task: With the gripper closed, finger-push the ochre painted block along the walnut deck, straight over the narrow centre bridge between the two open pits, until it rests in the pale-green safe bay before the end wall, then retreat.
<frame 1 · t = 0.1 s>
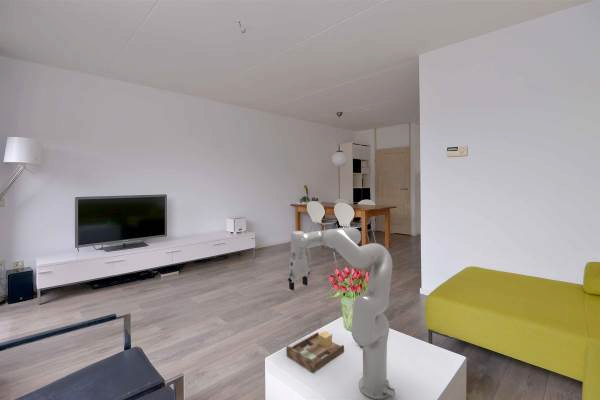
hand: (298, 287, 146), 31 cm above the table, fingers open, 9 cm apart
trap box: (315, 353, 140), on the table
block: (325, 343, 145), point 2 cm above the table, touching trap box
character mug: (364, 345, 147), on the table
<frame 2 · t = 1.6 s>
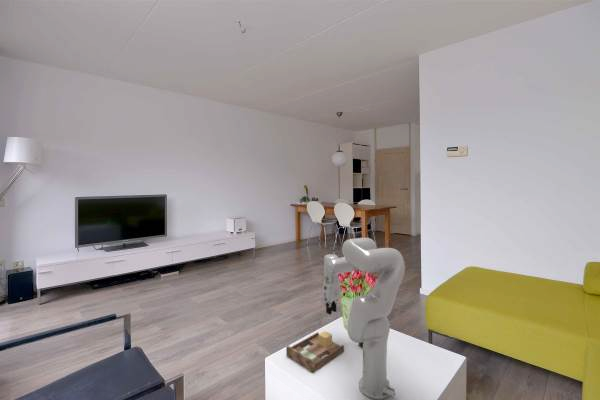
hand: (331, 312, 148), 17 cm above the table, fingers open, 3 cm apart
nothing on the table moved.
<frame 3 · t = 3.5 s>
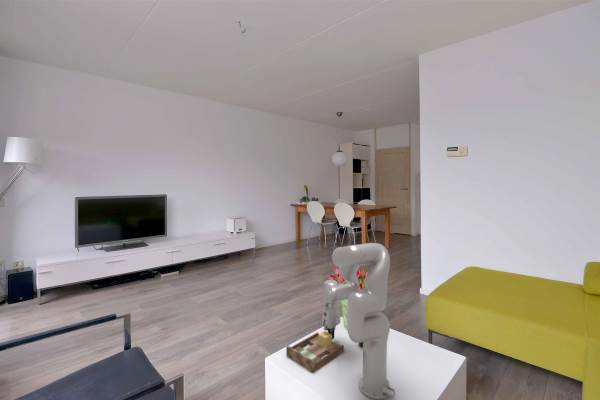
hand: (331, 337, 149), 3 cm above the table, fingers closed
block: (325, 343, 145), point 2 cm above the table, touching gripper, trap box
everything else where it was.
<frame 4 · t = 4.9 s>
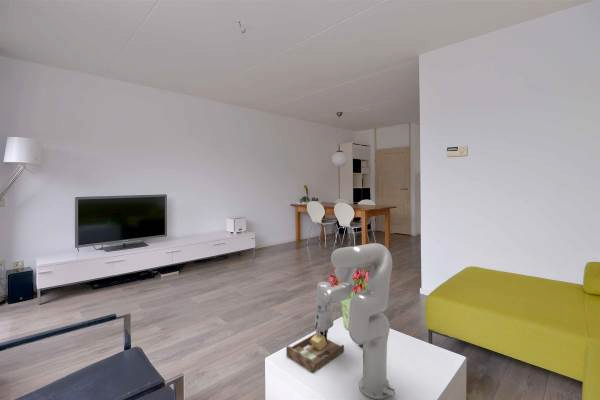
hand: (323, 340, 145), 4 cm above the table, fingers closed
block: (319, 345, 142), point 3 cm above the table, tilted 19°, touching gripper
everything else where it was.
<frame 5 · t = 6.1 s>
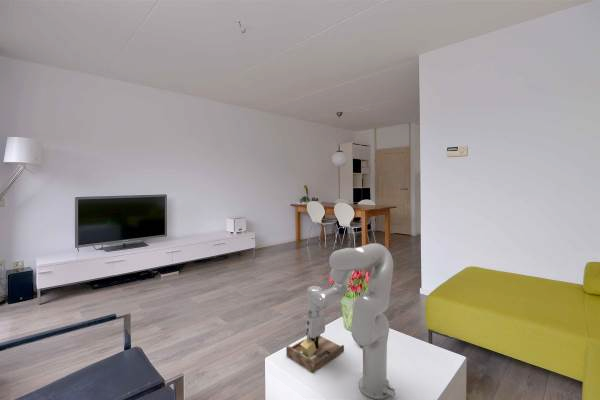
hand: (315, 347, 140), 3 cm above the table, fingers closed
block: (309, 351, 137), point 3 cm above the table, tilted 19°, touching gripper, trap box
everything else where it was.
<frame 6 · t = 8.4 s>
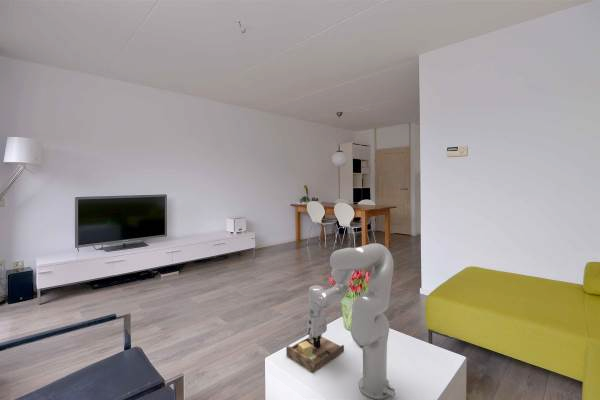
hand: (316, 346, 140), 3 cm above the table, fingers closed
block: (305, 354, 136), point 2 cm above the table, touching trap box
everything else where it was.
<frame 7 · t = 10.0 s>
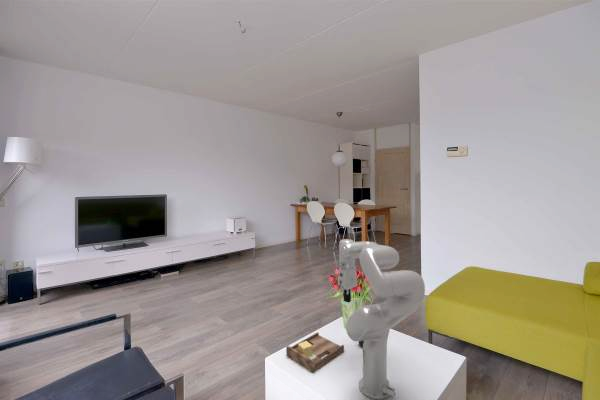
hand: (347, 301, 138), 27 cm above the table, fingers closed
nothing on the table moved.
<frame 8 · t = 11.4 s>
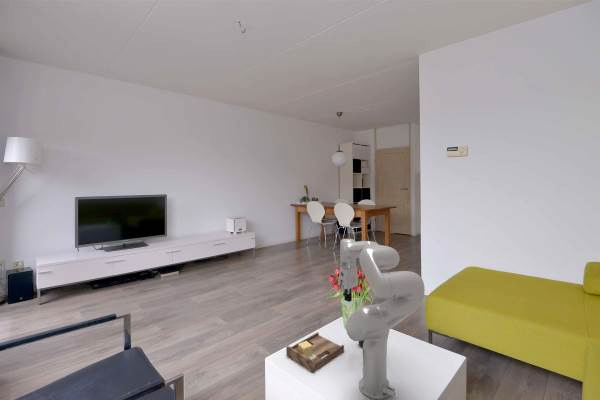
hand: (348, 300, 138), 27 cm above the table, fingers closed
nothing on the table moved.
at the end: block 0.9 cm from the target spot on the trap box, point 2.0 cm above the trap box's base; block tilted 0°; block moved 14.0 cm from its start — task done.
